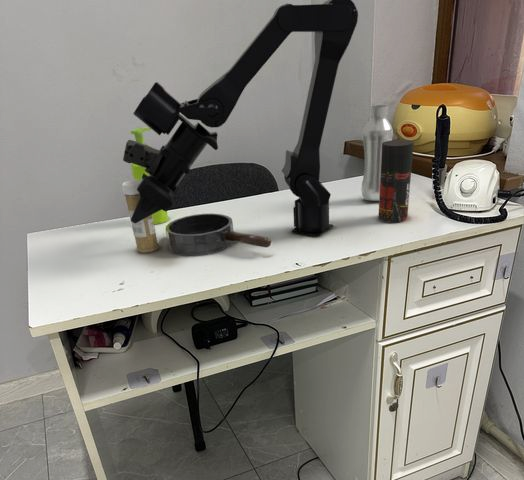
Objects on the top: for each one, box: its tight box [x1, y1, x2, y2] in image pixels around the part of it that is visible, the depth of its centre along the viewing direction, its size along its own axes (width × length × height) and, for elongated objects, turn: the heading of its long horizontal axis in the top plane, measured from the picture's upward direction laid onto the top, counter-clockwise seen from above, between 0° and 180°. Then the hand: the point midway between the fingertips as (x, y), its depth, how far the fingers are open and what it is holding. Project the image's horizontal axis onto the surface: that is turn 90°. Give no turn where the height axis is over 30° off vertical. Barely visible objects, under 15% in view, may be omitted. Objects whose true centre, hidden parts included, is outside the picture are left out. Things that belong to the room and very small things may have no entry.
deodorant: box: [377, 139, 415, 224], centre depth 99 cm, size 6×6×15 cm
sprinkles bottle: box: [121, 179, 160, 254], centre depth 95 cm, size 5×5×14 cm
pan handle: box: [221, 229, 272, 248], centre depth 92 cm, size 11×2×2 cm, turn 54°
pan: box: [165, 213, 235, 256], centre depth 98 cm, size 13×13×4 cm
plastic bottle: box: [360, 104, 394, 202], centre depth 110 cm, size 6×7×20 cm
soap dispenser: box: [130, 126, 169, 225], centre depth 110 cm, size 6×7×20 cm
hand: (134, 218), depth 95 cm, fingers closed on sprinkles bottle, 4 cm apart
